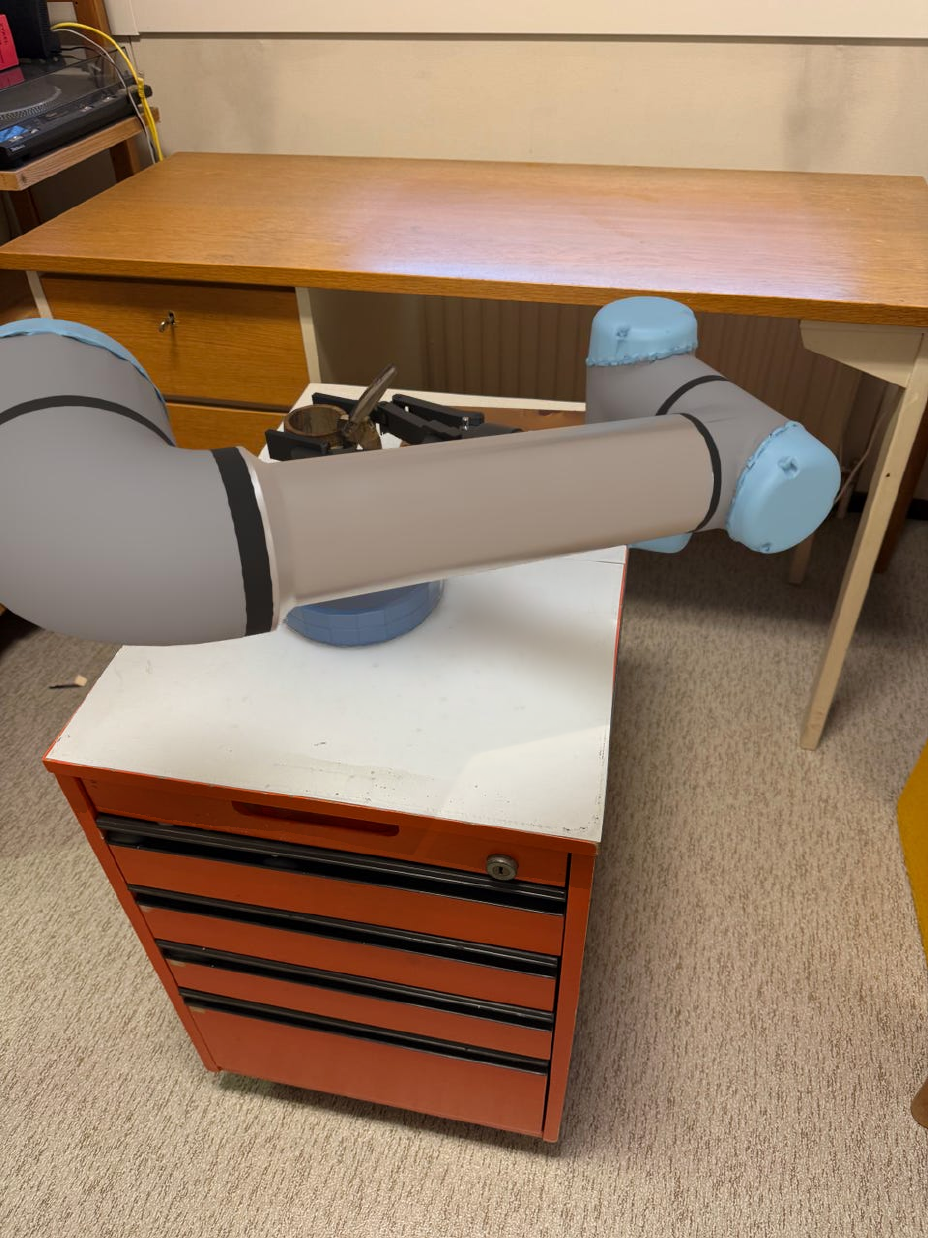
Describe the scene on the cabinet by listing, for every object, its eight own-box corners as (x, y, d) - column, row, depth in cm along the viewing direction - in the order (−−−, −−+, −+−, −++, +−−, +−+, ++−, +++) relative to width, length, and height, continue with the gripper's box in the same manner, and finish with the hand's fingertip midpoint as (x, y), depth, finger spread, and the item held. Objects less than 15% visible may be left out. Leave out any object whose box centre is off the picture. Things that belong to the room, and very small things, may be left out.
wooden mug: (388, 564, 83) (367, 387, 71) (269, 533, 87) (229, 362, 75) (430, 513, 89) (417, 343, 77) (316, 487, 93) (287, 322, 81)
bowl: (286, 664, 86) (278, 630, 83) (270, 560, 99) (263, 527, 96) (460, 630, 89) (458, 596, 86) (423, 533, 102) (420, 500, 99)
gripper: (468, 574, 71) (237, 512, 79) (557, 455, 84) (352, 413, 92) (464, 495, 66) (219, 438, 74) (560, 383, 80) (343, 344, 88)
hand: (293, 424), depth 83 cm, fingers closed on wooden mug, 7 cm apart
